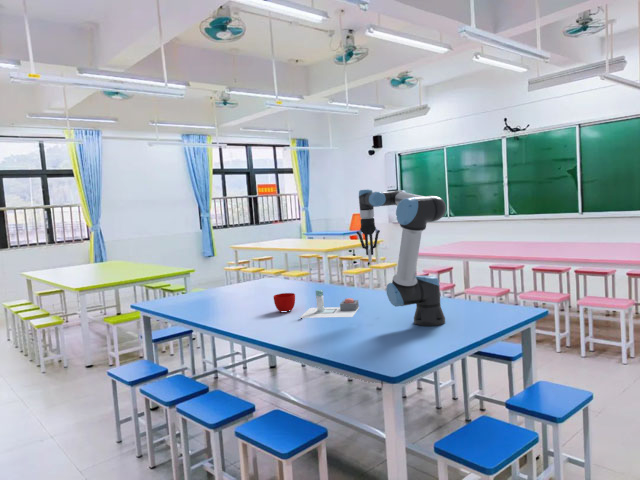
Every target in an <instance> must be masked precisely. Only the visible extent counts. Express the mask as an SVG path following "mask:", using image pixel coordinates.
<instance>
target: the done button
mask: <svg viewBox="0 0 640 480" xmlns="http://www.w3.org/2000/svg"><path fill="white" fill-rule="evenodd" d="M353 300H354V298H351V297H348V298H344V301H345V303H354V301H353Z"/></svg>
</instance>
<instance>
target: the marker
mask: <svg viewBox="0 0 640 480" xmlns="http://www.w3.org/2000/svg"><path fill="white" fill-rule="evenodd" d="M315 297H316V298H315V300H316V308H317V312H324V308H325V306H324V305H325V303H324V302H325V301H324V291H323V290H322V289H316V290H315Z"/></svg>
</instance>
